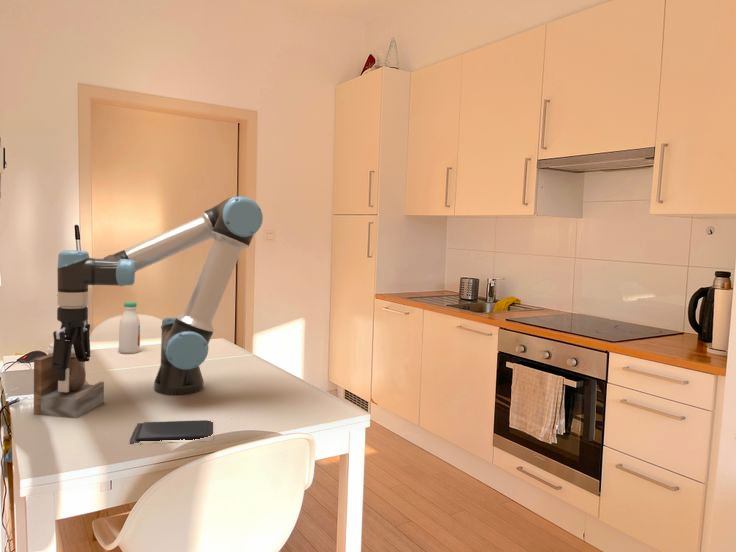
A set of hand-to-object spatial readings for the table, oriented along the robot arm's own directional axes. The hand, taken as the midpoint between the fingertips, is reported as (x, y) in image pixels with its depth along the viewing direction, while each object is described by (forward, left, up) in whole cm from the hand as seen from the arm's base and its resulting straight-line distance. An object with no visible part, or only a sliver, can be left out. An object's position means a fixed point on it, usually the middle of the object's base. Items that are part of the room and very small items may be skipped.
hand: (71, 387), depth 159 cm
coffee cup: (+10, -13, -6) cm, 17 cm away
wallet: (-34, +11, -7) cm, 37 cm away
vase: (0, 0, -1) cm, 1 cm away
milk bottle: (+18, -68, -6) cm, 71 cm away
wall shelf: (-1, 0, -6) cm, 6 cm away
